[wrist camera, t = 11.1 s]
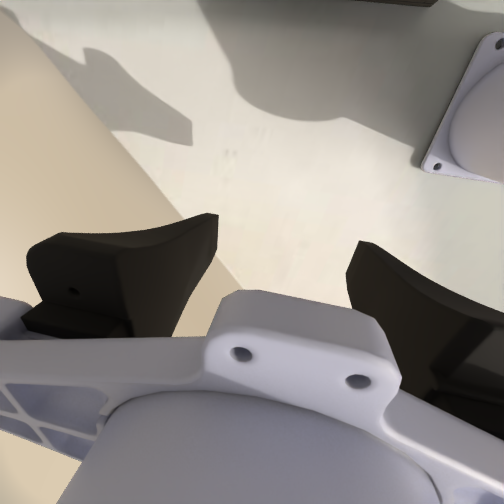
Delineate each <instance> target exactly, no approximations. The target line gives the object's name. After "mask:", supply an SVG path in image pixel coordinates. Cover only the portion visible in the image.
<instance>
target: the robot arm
mask: <svg viewBox="0 0 504 504" xmlns="http://www.w3.org/2000/svg"><path fill="white" fill-rule="evenodd" d="M498 40H501V42H502V44H501V47H500V48H499V49H498V50H497V49H496V48H495V45H496V43H497V41H498ZM437 163H439V166H438V168H436V169H433V167H434V165H435V164H437ZM421 169H422V170H423V171H425V172H428V173H435V174H441V175H447V176H454V177H460V178H467V179H473V180H480V181H486V182H493V183H499V184H504V32H493V33H490V34H488V35H486V36H485V37H484V38H483V39H482V40H481V41H480V43H479V45H478V47H477V49H476V51H475V53H474V55H473V57H472V59H471V61H470V63H469V65H468V68H467V70H466V72H465V74H464V76H463V78H462V80H461V82H460V84H459V86H458V88H457V90H456V93H455V95H454V97H453V99H452V101H451V103H450V105H449V107H448V109H447V111H446V113H445V116H444V118H443V120H442V122H441V124H440V126H439V128H438V130H437V132H436V134H435V136H434V138H433V141H432V143H431V145H430V147H429V149H428V151H427V153H426V155H425V157H424V159H423V161H422V164H421ZM218 219H219V215H216V214H211V213H204V214H200V215H197V216H194V217H191V218H188V219H185V220H182V221H179V222H176V223H173V224H169V225H165V226H161V227H158V228H152V229H147V230H140V231H131V232H121V233H99V234H98V233H92V234H91V233H66V232H61V233H58V234H56V235H54V236H52V237H50V238H48V239H46V240H44V241H42V242H40V243H38V244H35V245H34V246H33V247H31V248H30V249H29V251H28V253H27V256H26V259H27V260H26V261H27V268H28V271H29V273H30V276H31V278H32V280H33V282H34V284H35V286H36V288H37V290H38V292H39V295H40V297H41V299H42V300H43V301H42V302H41V303H39V304H38V305H36V306H35V307H34V308H33V307H32V306H31V305H29V304H28V303H26V302H23V301H19V300H15V299H11V298H6V297H1V296H0V430H2V431H5V432H8V433H10V434H13V435H15V436H18V437H21V438H23V439H26V440H28V441H31V442H33V443H36V444H38V445H41V446H44V447H46V448H49V449H51V450H53V451H56V452H59V453H61V454H63V455H66V456H68V457H71V458H73V459H76V460H78V461H81V462H82V463H81V465H80V467H79V468H78V470H77V471H76V473H75V475H74V476H73V478H72V479H71V481H70V482H69V484H68V486H67V487H66V489H65V490H64V492H63V494H62V495H61V497H60V499H59V500H58V502H57V503H56V504H504V313H503V312H500V311H498V310H495V309H492V308H490V307H487V306H485V305H482V304H480V303H477V302H475V301H473V300H470V299H468V298H466V297H464V296H461V295H459V294H457V293H455V292H453V291H451V290H449V289H447V288H445V287H443V286H441V285H439V284H437V283H435V282H433V281H432V280H430V279H428V278H426V277H425V276H423V275H421V274H420V273H418V272H416V271H415V270H413V269H412V268H410V267H409V266H407V265H406V264H404V263H403V262H401V261H400V260H398V259H397V258H395V257H394V256H392V255H391V254H390V253H388V252H387V251H385V250H384V249H382V248H381V247H379V246H377V245H376V244H374V243H370V242H365V241H359V242H358V245H357V247H356V250H355V252H354V254H353V257H352V259H351V262H350V264H349V267H348V269H347V271H346V283H347V291H348V294H349V298H350V302H351V305H352V309H349V308H345V307H340V306H335V305H330V304H325V303H320V302H316V301H311V300H306V299H301V298H296V297H291V296H287V295H282V294H277V293H272V292H267V291H262V290H237V291H235V292H233V293H231V294H229V295H227V296H226V297H224V298H222V300H221V302H220V305H219V307H218V309H217V311H216V314H215V316H214V318H213V321H212V323H211V326H210V328H209V330H208V333H207V335H206V336H202V337H201V336H200V337H172V334H173V332H174V330H175V327H176V325H177V323H178V321H179V318H180V316H181V314H182V311H183V310H184V308H185V305H186V304H187V301H188V299H189V297H190V295H191V294H192V292H193V290H194V289H195V287H196V286H197V284H198V282H199V281H200V279H201V278H202V276H203V274H204V273H205V272H206V270H207V268H208V267H209V265H210V263H211V262H212V259H213V257H214V255H215V253H216V250H217V240H218Z"/></svg>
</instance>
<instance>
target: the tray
mask: <svg viewBox="0 0 504 504" xmlns="http://www.w3.org/2000/svg"><path fill="white" fill-rule="evenodd" d="M357 1H368V2H379V3H390V4H401V5H413V6H424V7H431V6H432V5H433V4H434V3H435V2H437V1H438V0H357Z"/></svg>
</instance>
